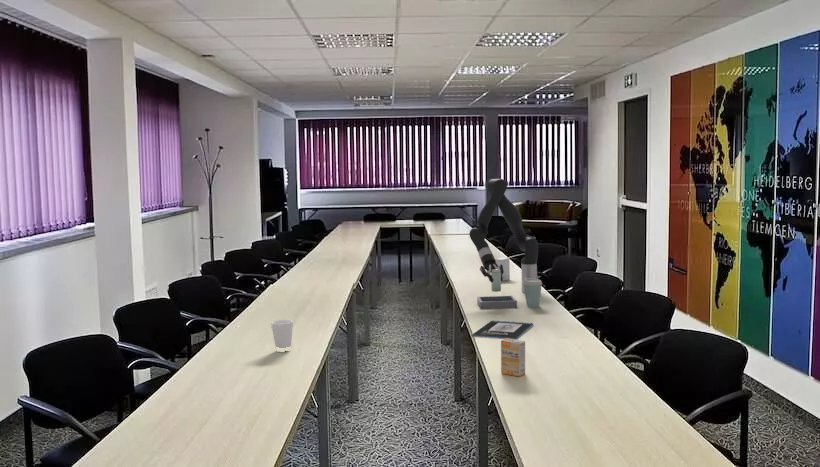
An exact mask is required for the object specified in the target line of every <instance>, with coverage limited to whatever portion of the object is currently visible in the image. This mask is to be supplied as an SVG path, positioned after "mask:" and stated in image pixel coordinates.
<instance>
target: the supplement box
mask: <svg viewBox="0 0 820 467" xmlns="http://www.w3.org/2000/svg"><path fill="white" fill-rule="evenodd" d="M500 365H501V367H500V371H501V372H500V373H502V375H508V376H514V377H518V378H521V377H522V376H524V375H526V341H525V340H519V339H517V340H514V339H509V338H506V339H500Z"/></svg>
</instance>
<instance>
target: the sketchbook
mask: <svg viewBox="0 0 820 467" xmlns="http://www.w3.org/2000/svg"><path fill="white" fill-rule="evenodd" d="M533 327H534V323H533V322H526V321H525V322H524V321H514V320H510V321H509V320H499V319H498V320H497V319H495V320H494V319H492V320H490V321H489V322H488V323H486V324H485V325H483V326H482V327H481V328H479V329H478V330H476V331H475V332H473V333H472V334H471V337H473V338H475V337H476V338H487V337H488V339H489V338H490V339H500V340H503V339H506V338H509V339H514V340H519V339H520V337H522V335H524V334H525V333H527V331H529V330H530V329H531V328H533Z"/></svg>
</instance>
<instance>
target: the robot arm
mask: <svg viewBox="0 0 820 467" xmlns="http://www.w3.org/2000/svg"><path fill="white" fill-rule="evenodd" d="M486 188H487V191H488V192H489V194H490V196H491V197H490V198H489V200H488V201H487V202H486V203H485V205H484V206H483V207H482V209H481V211H480V212H479V215H478V217H477V220H476V224H477V225H478V227H471V229H470V231H469V239H470V240H471V241H472V243H473V245H474V247H475V248H476V251H477V253H478V256H479V259H480V262H481V264H482V265H480V267H479V271H480V272H481V274H482V275H483V277H487V278H488V281H489V282H490V283H491V282H493V278H492V276H491V272H492V269H498V268H499V269H500V272H501V282H503V281H502V280H503V277H502V275H503V273H504V271H503V265H502V264H501V265H497V264H496V261H495V259H496V258H495V256H494V254H493V251H492V249H491V248H490V246H489V243H488V242H487V241H486V238H487V234H488V229H489V228H488V227H489V223H490V222H491V219H492V217H493V215H494V213H495V210H496V208H497V206H498V209H499V211H500V212H501V214H502V216H503V218H504V220H505V221H506V223H507V225H508V226H509V228H510V229H509V230H510V231H511V232H512V234H513V236H514V238H515V240H516V244H517V246H518V248H519V250H520V251H521V252H524V257H523V258H522V259H521V260H520V262H521V263H520V264H521V266H520V267H521V292H522V293H525V291H524V285H523V281H524V279H526V278H532V279H539V276H538V266H537V263H538V259H539V242H538V240H537V239H536V238H534V237H529V236H528V235H527V234H526V232H525V230H524V227H523V219H522V215H521V213H520V211H519V210H518V208H517V207H516V205H515V204H513V203H512V201H510V199H508V198H507V196H506V194H505V193H506V192H507V188H508V182H507V181H506V180H505V179H503V178H492V179H489V180H488V182H487V184H486ZM497 267H498V268H497Z"/></svg>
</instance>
